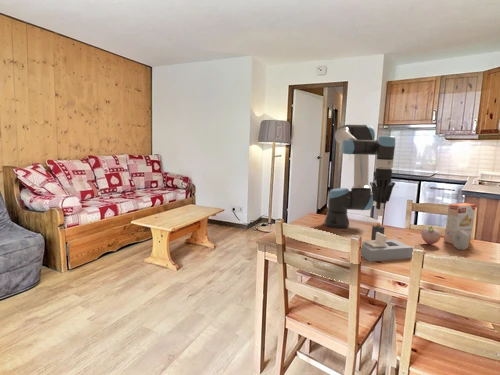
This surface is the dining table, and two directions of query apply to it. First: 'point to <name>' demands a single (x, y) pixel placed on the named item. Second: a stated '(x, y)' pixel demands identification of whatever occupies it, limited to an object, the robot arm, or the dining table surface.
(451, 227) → the cracker box
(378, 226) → the plug
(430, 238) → the decorative fruit
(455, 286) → the dining table surface
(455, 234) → the donut
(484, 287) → the dining table surface
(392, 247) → the socket housing
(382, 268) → the dining table surface
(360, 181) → the robot arm
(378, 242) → the cream l-shaped bracket
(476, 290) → the dining table surface
